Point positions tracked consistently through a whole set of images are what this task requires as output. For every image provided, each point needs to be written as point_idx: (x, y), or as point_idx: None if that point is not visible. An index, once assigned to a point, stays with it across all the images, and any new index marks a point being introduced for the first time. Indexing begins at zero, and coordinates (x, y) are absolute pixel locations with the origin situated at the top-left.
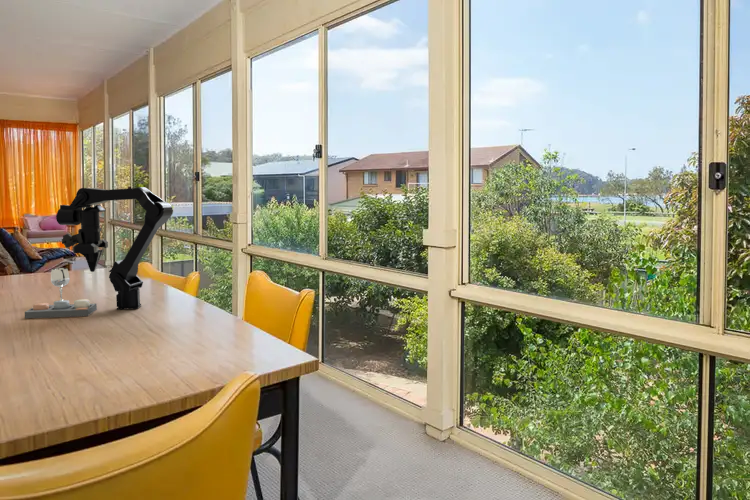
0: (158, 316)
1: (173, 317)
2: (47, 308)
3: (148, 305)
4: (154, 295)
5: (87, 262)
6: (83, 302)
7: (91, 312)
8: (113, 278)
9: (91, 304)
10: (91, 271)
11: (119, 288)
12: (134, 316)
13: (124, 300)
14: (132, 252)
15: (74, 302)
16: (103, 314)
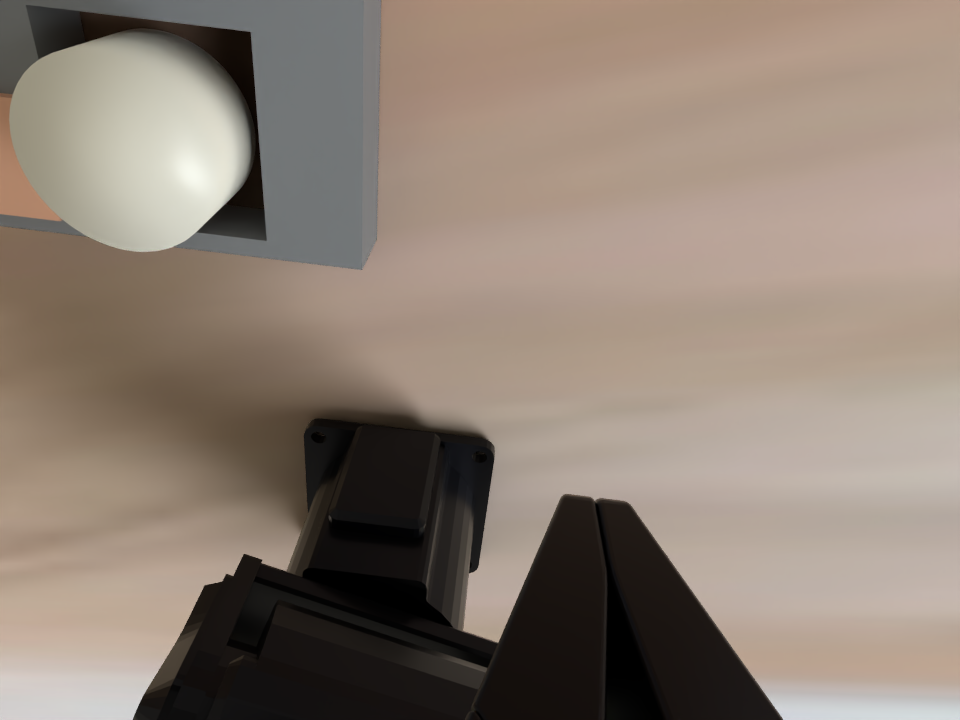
0: (57, 634)
1: (34, 686)
2: None
3: None
4: (934, 635)
5: (468, 715)
6: (45, 189)
7: None
8: (141, 703)
9: (303, 223)
10: (556, 510)
11: (192, 619)
12: (47, 527)
13: (302, 529)
14: None
15: (45, 59)
16: (117, 325)
